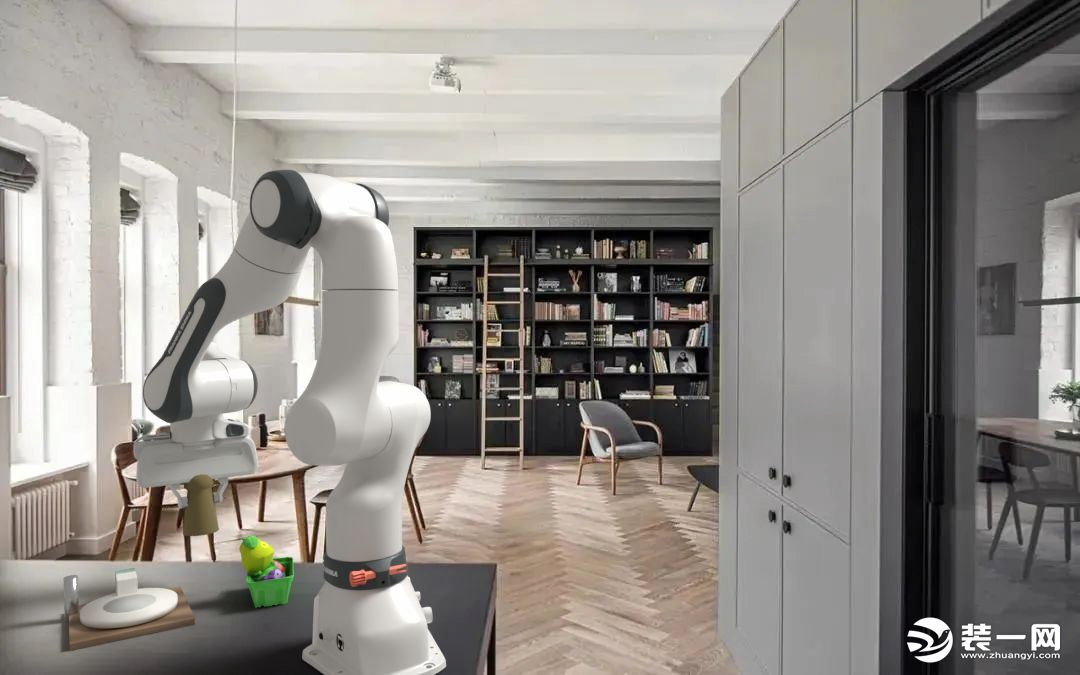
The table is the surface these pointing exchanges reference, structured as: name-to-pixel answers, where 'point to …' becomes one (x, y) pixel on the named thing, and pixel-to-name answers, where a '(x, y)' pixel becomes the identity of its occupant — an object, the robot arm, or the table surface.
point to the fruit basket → (266, 572)
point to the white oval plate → (128, 604)
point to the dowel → (70, 596)
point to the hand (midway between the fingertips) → (200, 505)
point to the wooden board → (94, 636)
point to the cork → (200, 507)
